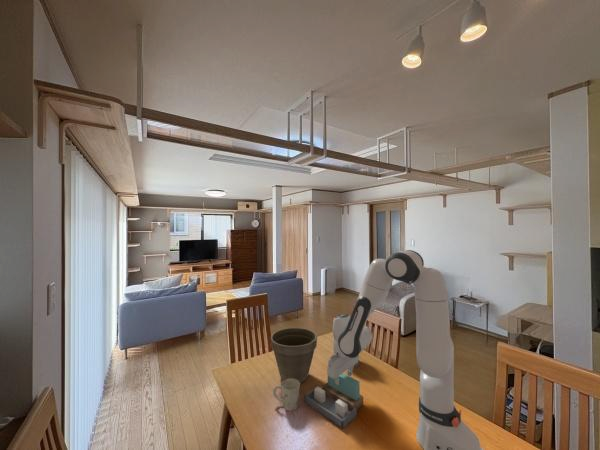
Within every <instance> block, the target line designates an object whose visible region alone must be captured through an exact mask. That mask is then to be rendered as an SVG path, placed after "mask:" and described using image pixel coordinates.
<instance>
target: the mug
mask: <svg viewBox="0 0 600 450" xmlns="http://www.w3.org/2000/svg"><path fill="white" fill-rule="evenodd" d="M300 387H301V383H300V382H299V381H298V380H296V379H293V378H290V379H286V380H284V381H283V380H282V381H281V384H280V385H276V386H275V387H273V390H272V394H273V397H274V398H275V399H276V400H277V401H278V402H279V401H280V402H283V407H284V409H285V410H286V411H288V412H293V411H296V410H297V409H298V406H299V397H300ZM279 389H281V392H282V393H281V394H282V398H280V397H279V396H278V395H277V390H279Z"/></svg>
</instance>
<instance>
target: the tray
mask: <svg viewBox="0 0 600 450" xmlns="http://www.w3.org/2000/svg"><path fill="white" fill-rule="evenodd" d="M317 387H319V388H321V386H319V385H318V386H317ZM303 402H304V404H305V405H307V406H309V407H310V408H311V409H313V410H315V412H318V413H319V414H320V415H322V416H323V417H324V418H326V419H327V420H329V421H330V422H332V423H333V424H334V425H336V426H338V427H339V428H340V429H341V430H344V429H345V428H346V427H347V426H348V425H349V424H350V423H351V422H352V421H353V420H355V418H357V416H358V415H357V413H358V412H357V411H358V410H357V409H356V408H354V409H353V410H352V411H350V410H348V415H347V416H345V417H344V418H343V417H342V416H340V415H339V414H337V413H336V410H335V401H334V400H332V399H330V398H329V397H327V396H325V402H323V403H320V402H319V401H317V400H316V399H314V389H312V390H310V391H309V392H307V393H306V394H305V395H303Z"/></svg>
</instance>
